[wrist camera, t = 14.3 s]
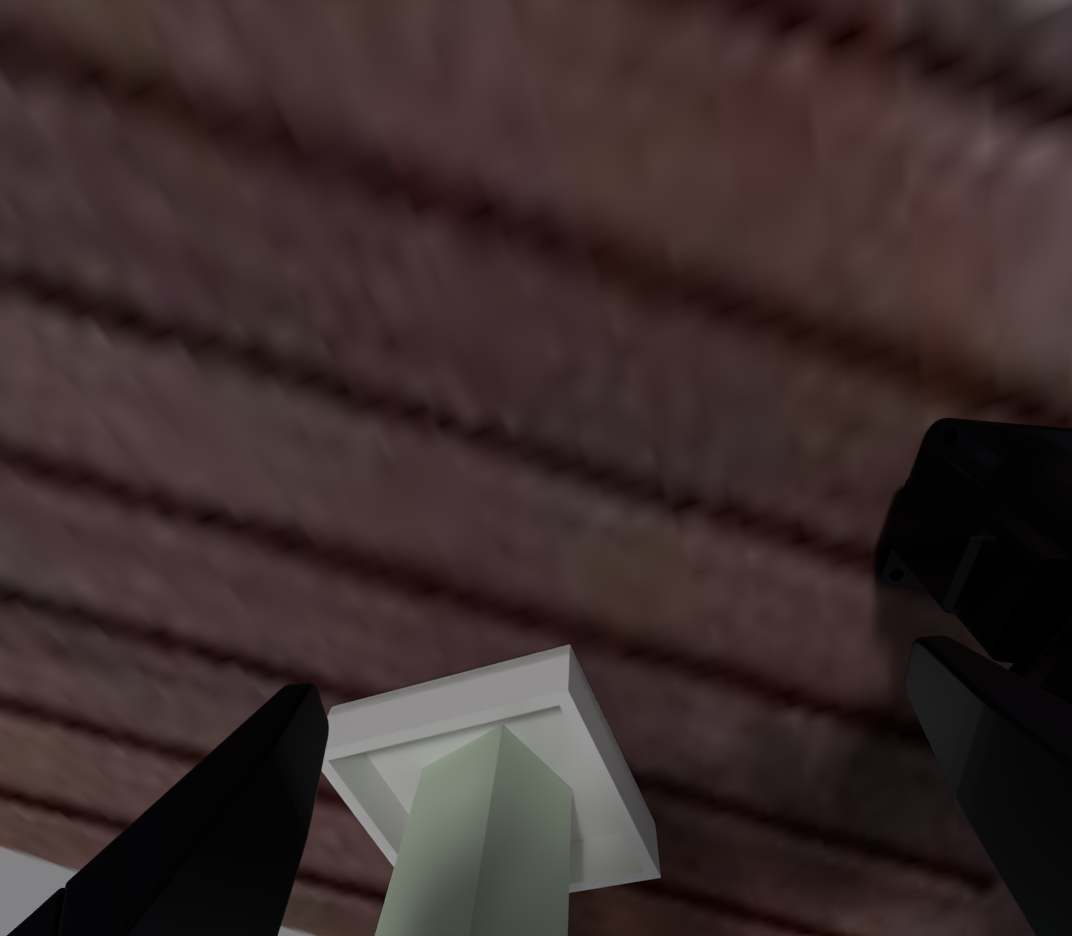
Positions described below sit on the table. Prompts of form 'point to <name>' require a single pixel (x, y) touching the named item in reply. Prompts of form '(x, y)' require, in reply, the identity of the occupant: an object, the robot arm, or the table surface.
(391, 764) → the tray
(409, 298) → the table surface
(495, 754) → the handle block
